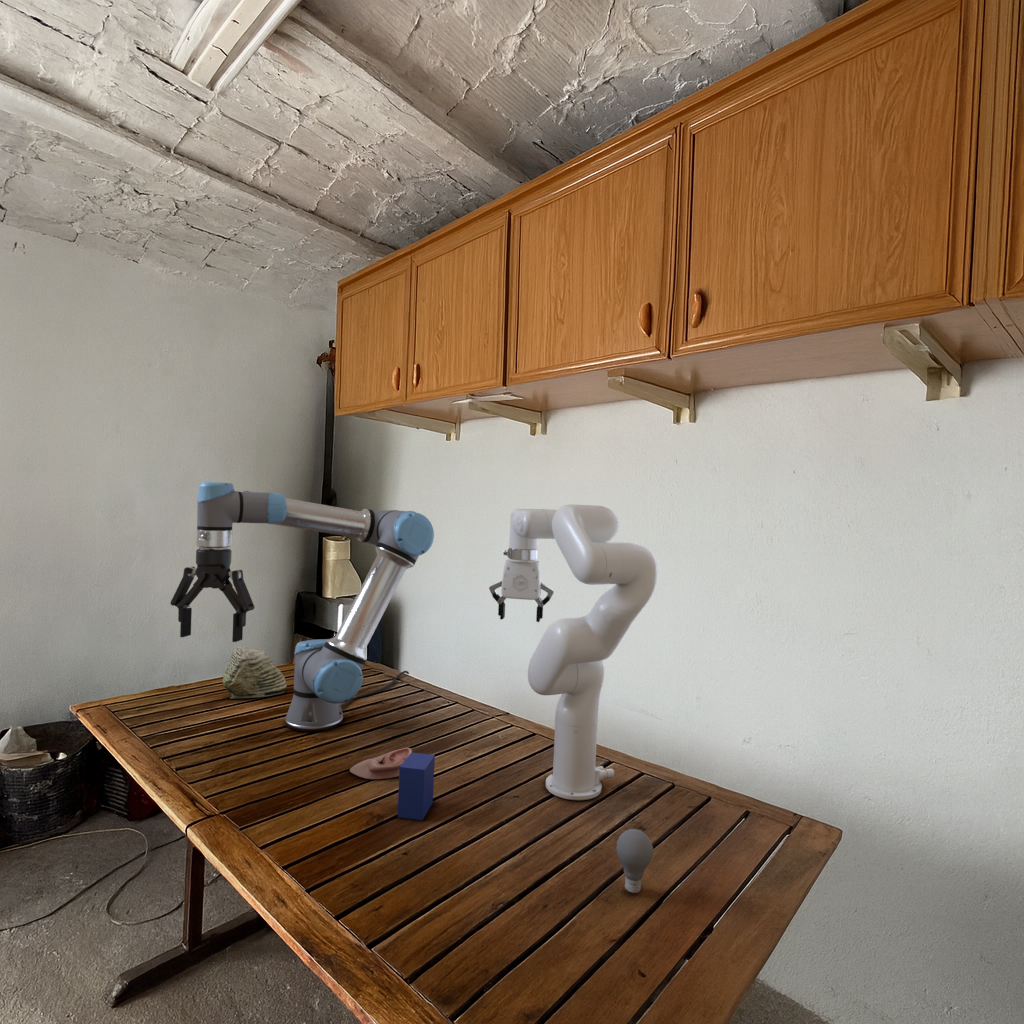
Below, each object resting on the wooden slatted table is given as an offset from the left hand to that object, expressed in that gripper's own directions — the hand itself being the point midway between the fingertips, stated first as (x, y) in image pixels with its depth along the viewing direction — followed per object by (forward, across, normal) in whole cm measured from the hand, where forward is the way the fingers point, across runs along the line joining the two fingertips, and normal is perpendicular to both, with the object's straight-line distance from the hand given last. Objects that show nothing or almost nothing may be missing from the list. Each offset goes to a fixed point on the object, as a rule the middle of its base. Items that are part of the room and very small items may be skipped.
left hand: (211, 638), depth 148 cm
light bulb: (+29, +98, -26) cm, 106 cm away
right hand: (-4, +68, +32) cm, 75 cm away
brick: (+29, +55, -9) cm, 62 cm away
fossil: (+29, -18, +46) cm, 58 cm away
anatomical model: (+29, +41, +6) cm, 50 cm away
